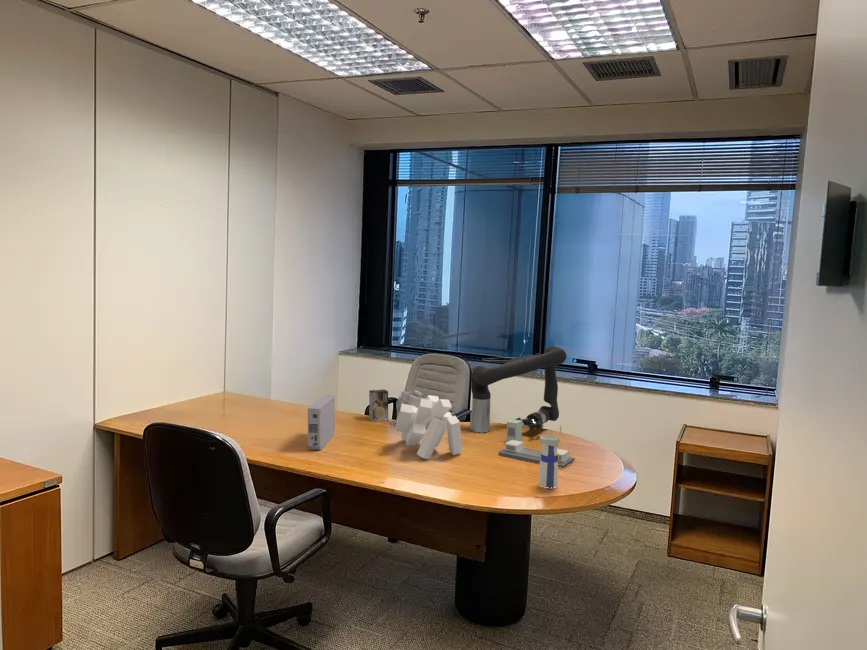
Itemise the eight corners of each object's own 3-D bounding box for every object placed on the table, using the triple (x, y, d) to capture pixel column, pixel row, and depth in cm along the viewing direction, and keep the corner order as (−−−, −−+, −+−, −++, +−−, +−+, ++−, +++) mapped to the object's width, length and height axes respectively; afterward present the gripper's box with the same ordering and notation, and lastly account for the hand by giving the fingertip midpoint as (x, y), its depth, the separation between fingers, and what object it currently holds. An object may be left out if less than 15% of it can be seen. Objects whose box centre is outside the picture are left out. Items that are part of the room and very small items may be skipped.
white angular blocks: (376, 460, 292) (378, 403, 272) (409, 423, 314) (413, 368, 294) (441, 492, 279) (448, 435, 259) (472, 451, 301) (480, 396, 281)
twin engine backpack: (434, 434, 328) (443, 397, 328) (402, 429, 320) (411, 391, 320) (420, 426, 344) (429, 390, 344) (389, 421, 336) (398, 384, 336)
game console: (335, 435, 313) (335, 395, 311) (320, 451, 286) (320, 408, 284) (324, 434, 313) (324, 395, 311) (307, 451, 286) (307, 408, 284)
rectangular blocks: (504, 449, 286) (504, 443, 286) (511, 446, 293) (511, 439, 292) (562, 461, 271) (562, 455, 271) (568, 457, 277) (569, 450, 277)
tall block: (506, 444, 302) (506, 421, 301) (511, 441, 308) (512, 419, 306) (515, 446, 300) (516, 423, 298) (521, 443, 305) (522, 420, 304)
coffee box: (384, 417, 348) (385, 389, 346) (388, 420, 342) (388, 391, 340) (368, 419, 344) (369, 390, 342) (372, 421, 338) (372, 392, 337)
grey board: (498, 455, 285) (498, 452, 285) (511, 448, 296) (511, 445, 296) (563, 469, 268) (563, 465, 268) (574, 461, 279) (574, 457, 279)
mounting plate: (503, 450, 287) (503, 449, 287) (510, 447, 293) (510, 445, 293) (563, 463, 271) (563, 461, 271) (569, 459, 277) (570, 457, 277)
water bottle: (556, 481, 253) (558, 420, 251) (561, 489, 245) (563, 426, 242) (535, 481, 253) (538, 420, 250) (540, 489, 245) (542, 426, 242)
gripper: (523, 410, 327) (509, 416, 314) (549, 414, 319) (535, 421, 306) (523, 424, 328) (508, 431, 314) (548, 429, 320) (535, 436, 307)
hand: (522, 426), depth 310 cm, fingers open, 8 cm apart
